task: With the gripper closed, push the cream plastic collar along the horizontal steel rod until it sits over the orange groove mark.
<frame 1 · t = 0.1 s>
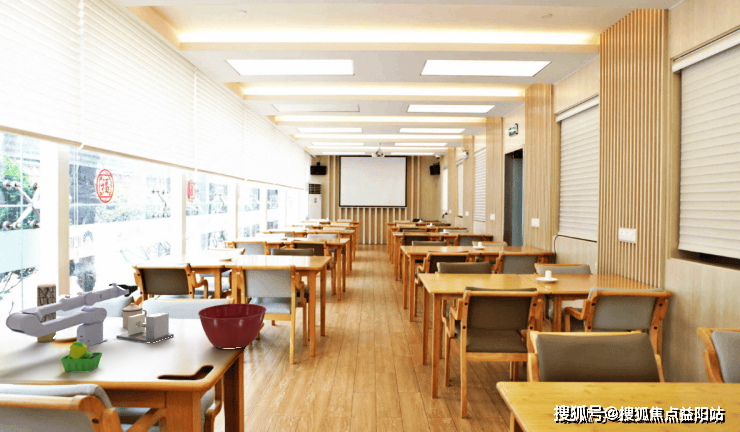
hand: (131, 287, 208), 22 cm above the table, tool horizontal, fingers open, 7 cm apart
paper tube: (46, 340, 193), on the table
mixing bowl: (233, 345, 187), on the table
fruit basket: (80, 370, 157), on the table
base plate: (145, 337, 198), on the table
pipe stand: (146, 324, 198), on the base plate, point 6 cm above the table
teacup with lid: (135, 325, 219), on the table
collar: (136, 323, 200), point 6 cm above the table, slide at 0.0 cm
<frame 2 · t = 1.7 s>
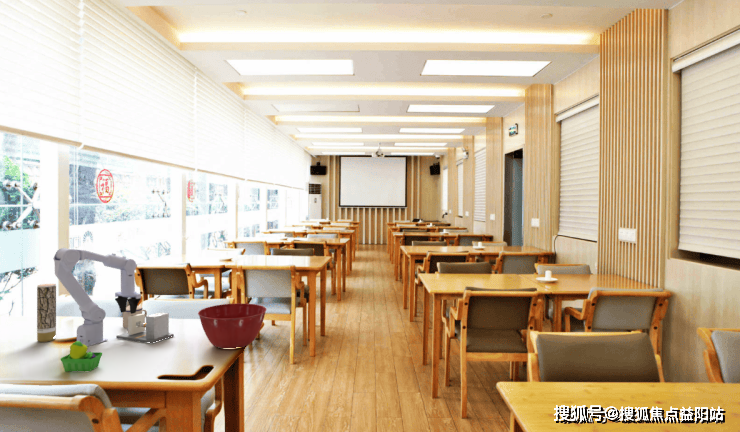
hand: (128, 312, 202), 10 cm above the table, tool pointing down, fingers open, 6 cm apart
nothing on the table moved.
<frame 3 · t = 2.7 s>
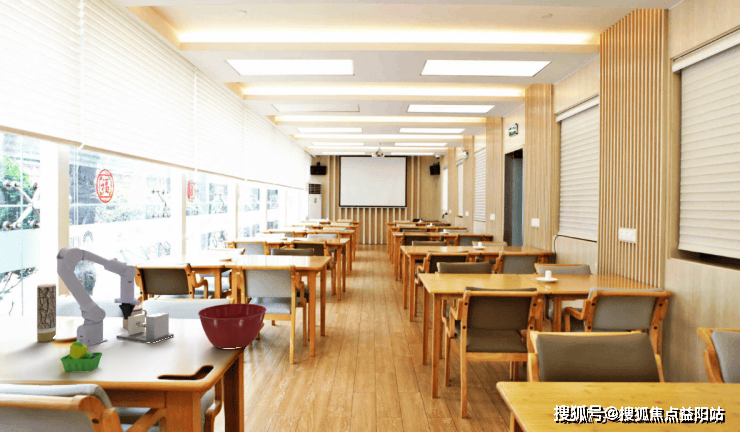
hand: (127, 319, 202), 7 cm above the table, tool pointing down, fingers closed
nothing on the table moved.
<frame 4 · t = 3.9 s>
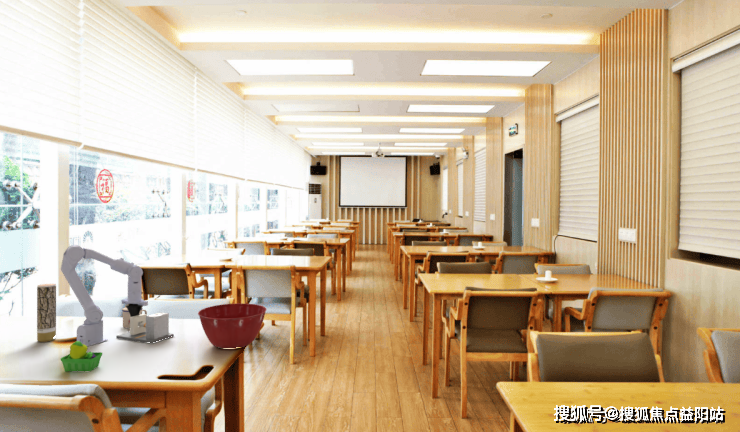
hand: (134, 320, 200), 7 cm above the table, tool pointing down, fingers closed
collar: (138, 324, 199), point 6 cm above the table, slide at 1.2 cm, touching gripper
everything else where it was.
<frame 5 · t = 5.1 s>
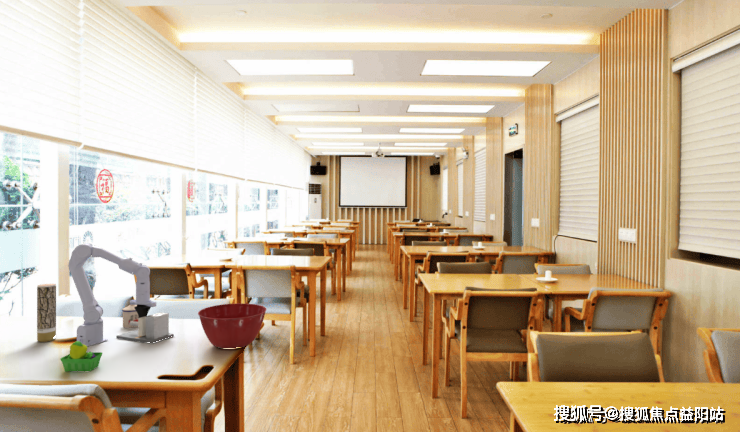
hand: (142, 321, 198), 7 cm above the table, tool pointing down, fingers closed
collar: (146, 325, 198), point 6 cm above the table, slide at 6.5 cm, touching gripper
everything else where it was.
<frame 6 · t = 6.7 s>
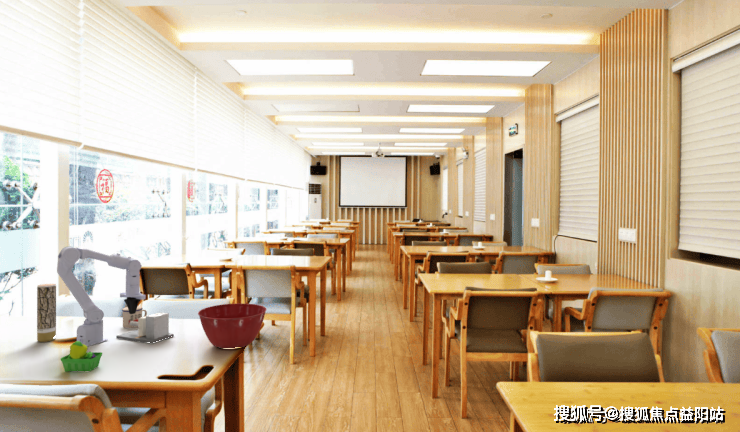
hand: (132, 313, 201), 10 cm above the table, tool pointing down, fingers closed
collar: (146, 325, 198), point 6 cm above the table, slide at 6.5 cm
everything else where it was.
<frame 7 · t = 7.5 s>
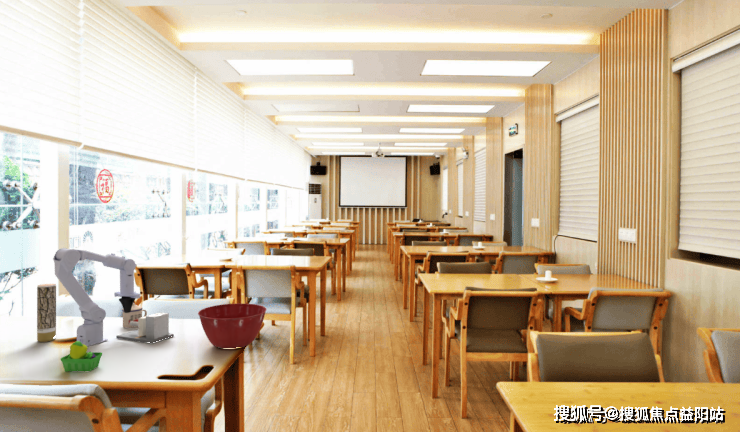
hand: (127, 312, 203), 10 cm above the table, tool pointing down, fingers closed
nothing on the table moved.
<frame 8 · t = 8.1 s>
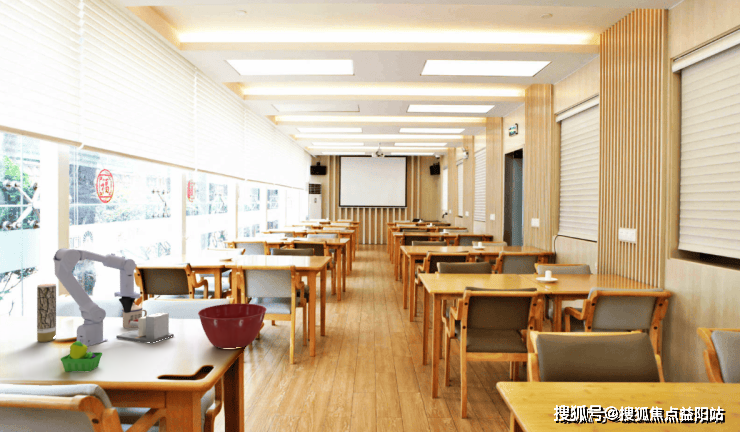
hand: (127, 312, 203), 10 cm above the table, tool pointing down, fingers closed
nothing on the table moved.
at the end: collar slide at 6.5 cm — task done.
